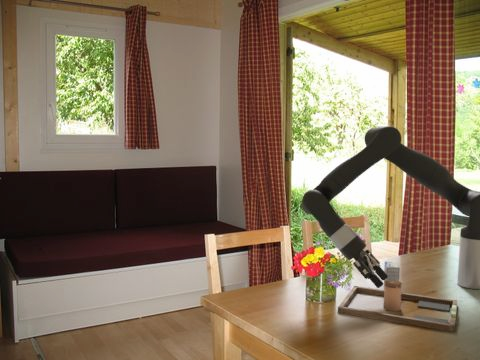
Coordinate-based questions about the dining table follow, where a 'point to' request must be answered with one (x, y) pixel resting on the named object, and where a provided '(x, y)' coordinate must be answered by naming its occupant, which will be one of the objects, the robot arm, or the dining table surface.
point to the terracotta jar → (392, 295)
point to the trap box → (396, 318)
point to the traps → (435, 307)
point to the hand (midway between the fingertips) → (383, 282)
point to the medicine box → (392, 271)
